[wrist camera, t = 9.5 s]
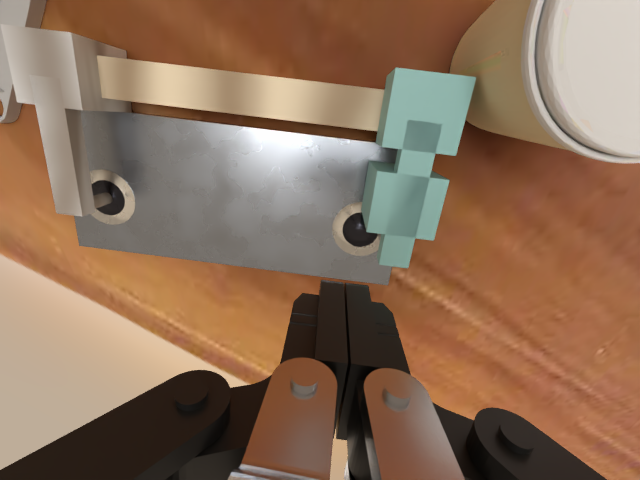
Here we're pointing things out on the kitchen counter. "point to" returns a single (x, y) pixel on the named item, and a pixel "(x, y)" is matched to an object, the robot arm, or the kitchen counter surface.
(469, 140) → the kitchen counter surface
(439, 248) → the kitchen counter surface
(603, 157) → the coffee cup
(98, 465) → the robot arm
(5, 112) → the adjustable wrench
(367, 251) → the bolt plate
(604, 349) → the kitchen counter surface
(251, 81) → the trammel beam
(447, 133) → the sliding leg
